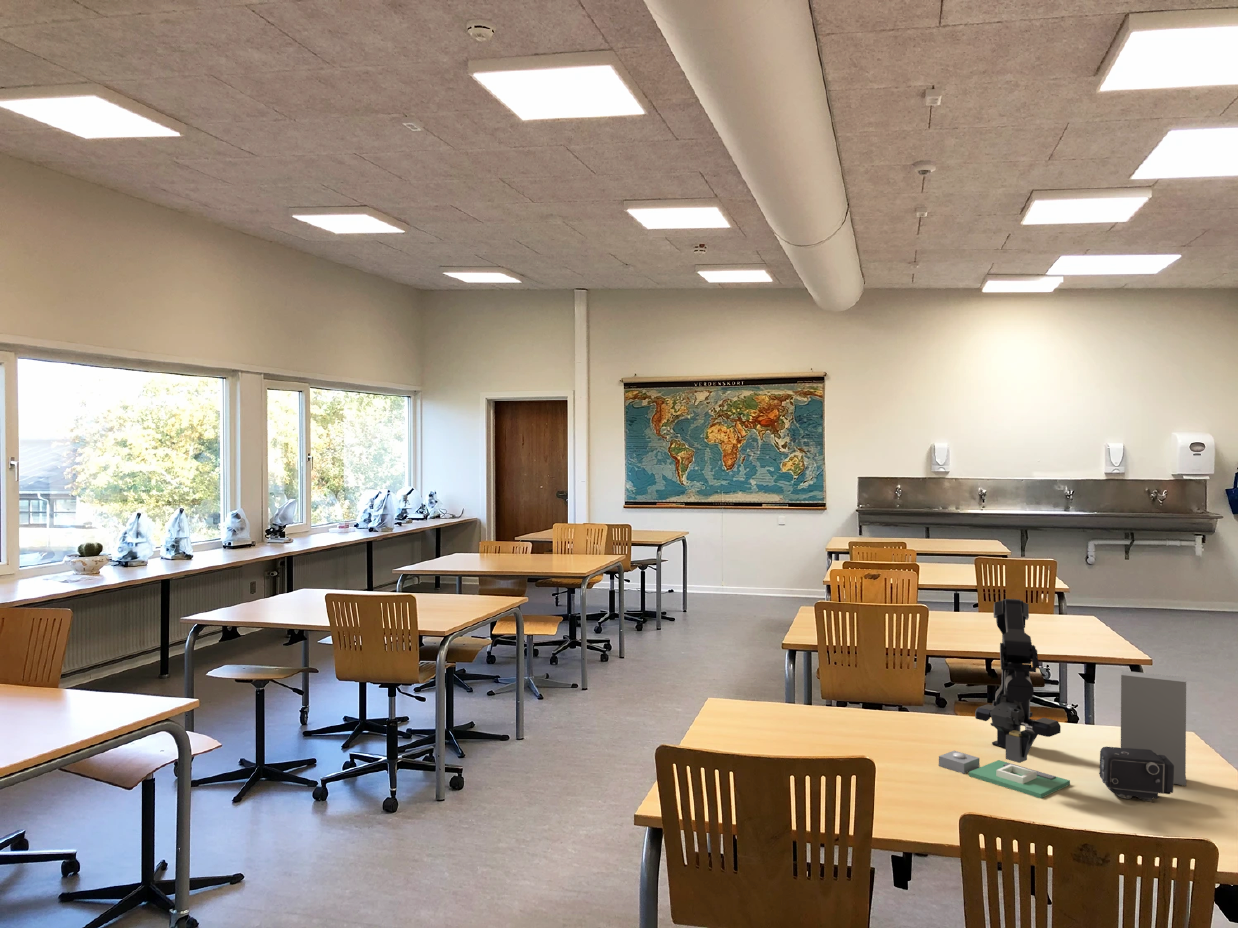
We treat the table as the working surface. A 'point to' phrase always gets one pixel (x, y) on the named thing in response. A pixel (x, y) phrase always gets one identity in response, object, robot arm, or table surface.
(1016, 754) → the plug
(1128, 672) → the upright grey panel
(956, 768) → the grey push button
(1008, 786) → the board
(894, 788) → the table surface
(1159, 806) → the table surface
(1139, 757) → the camera
